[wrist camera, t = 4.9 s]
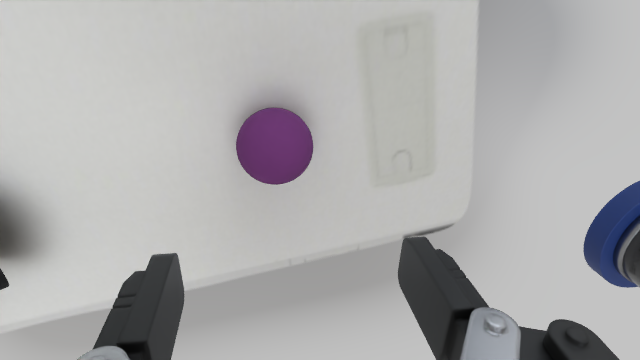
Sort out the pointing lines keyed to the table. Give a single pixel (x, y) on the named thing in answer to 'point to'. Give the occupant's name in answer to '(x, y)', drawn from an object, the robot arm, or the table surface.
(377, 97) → the table surface
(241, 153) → the plum ball
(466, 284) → the robot arm
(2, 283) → the telephone
